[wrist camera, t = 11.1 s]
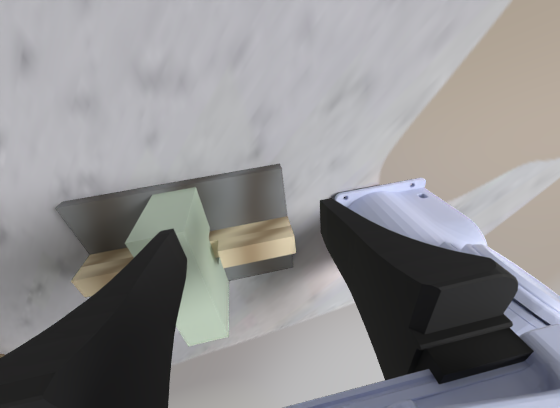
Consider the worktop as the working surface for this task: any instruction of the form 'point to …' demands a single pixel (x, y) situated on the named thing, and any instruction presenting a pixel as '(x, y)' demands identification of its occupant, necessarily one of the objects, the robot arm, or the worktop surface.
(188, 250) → the pale green block
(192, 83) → the worktop surface
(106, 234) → the joint board
